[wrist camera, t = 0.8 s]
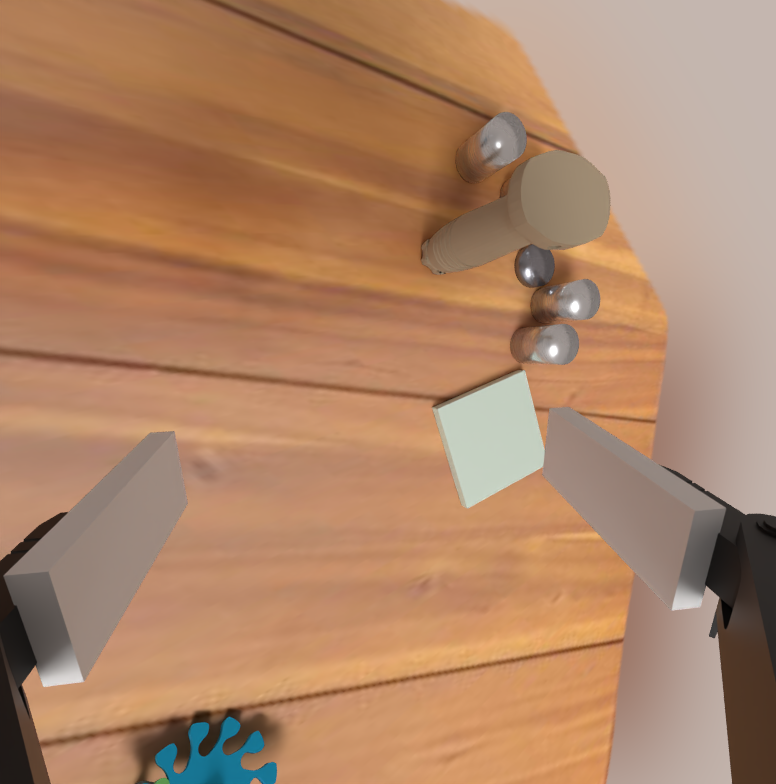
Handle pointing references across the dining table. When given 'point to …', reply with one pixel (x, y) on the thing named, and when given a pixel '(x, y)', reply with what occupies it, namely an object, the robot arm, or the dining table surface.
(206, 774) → the gear
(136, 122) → the dining table surface
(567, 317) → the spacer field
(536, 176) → the handle
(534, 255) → the disc
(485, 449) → the pad
